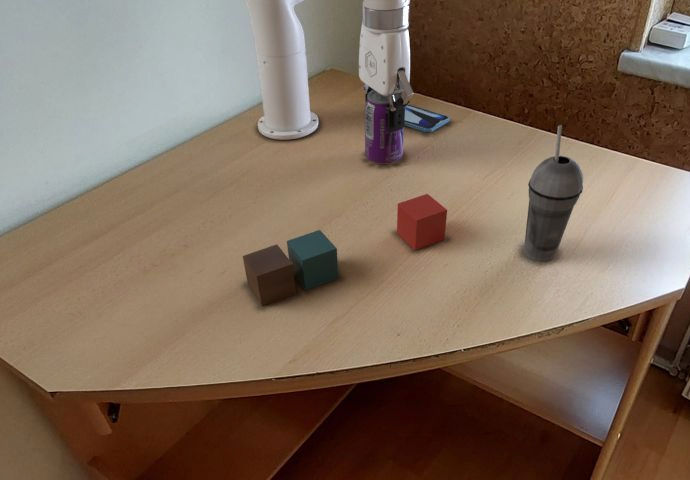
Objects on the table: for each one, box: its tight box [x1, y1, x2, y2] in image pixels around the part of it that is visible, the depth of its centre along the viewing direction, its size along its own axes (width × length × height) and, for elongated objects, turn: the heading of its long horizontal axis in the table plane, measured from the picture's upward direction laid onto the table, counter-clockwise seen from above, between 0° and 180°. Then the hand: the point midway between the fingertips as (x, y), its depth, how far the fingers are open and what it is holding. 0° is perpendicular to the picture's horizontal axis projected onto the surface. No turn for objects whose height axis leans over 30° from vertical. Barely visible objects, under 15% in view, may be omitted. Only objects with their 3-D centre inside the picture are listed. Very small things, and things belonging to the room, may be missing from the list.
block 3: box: [396, 193, 448, 251], centre depth 97 cm, size 6×6×6 cm
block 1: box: [242, 244, 297, 307], centre depth 90 cm, size 6×6×6 cm
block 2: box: [286, 229, 339, 291], centre depth 92 cm, size 6×6×6 cm
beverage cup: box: [523, 124, 584, 263], centre depth 87 cm, size 7×7×20 cm
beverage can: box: [364, 88, 405, 165], centre depth 113 cm, size 7×7×12 cm
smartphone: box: [404, 103, 450, 133], centre depth 127 cm, size 7×1×15 cm
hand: (384, 121), depth 112 cm, fingers closed on beverage can, 7 cm apart
